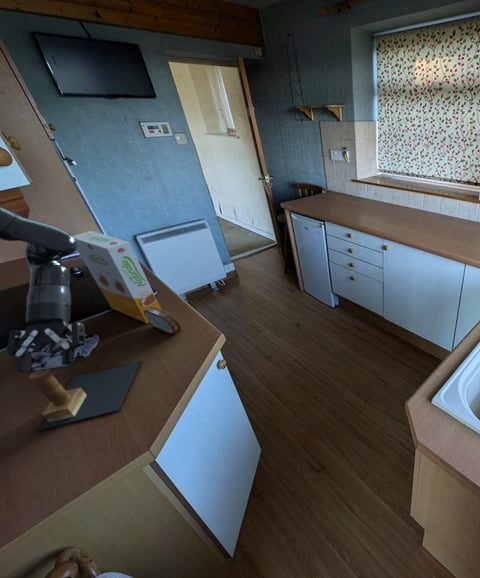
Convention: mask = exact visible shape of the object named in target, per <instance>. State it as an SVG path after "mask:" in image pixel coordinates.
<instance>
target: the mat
mask: <svg viewBox="0 0 480 578" xmlns="http://www.w3.org/2000/svg"><path fill="white" fill-rule="evenodd" d="M139 365H140V362H135V363H134V362H133V363H130V364H129V363H128V364H125V365H121V366H116V367H111V368H106V369H102V370H96V371H92V372H86V373H82V374H78V375H74V376H73V377H72V379H71V380H70V382H69V383H68V385H67V386H66V387H65V388H64V389H65V390H66V391H67V390H72V389H76V388H81V389H82V390H83V391H84V392H85V393H86V395H87V396H86V397H85V399H84V401H83V403H82V404H81V406H80V408H79V410H78V411H77V413H76V415H75V416H74V417H70V418H66V419H62V420H58V421H54V422H49V421H48V420H47V419H46V418H45V419H44V420H43V422H42V424H41V425H40V426H39V428H38V431H39V432H40V431H44V430H49V429H52V428H55V427H60V426H63V425H68V424H72V423H75V422H80V421H84V420H88V419H91V418H96V417H100V416H104V415H107V414H111V413H115V412H118V411H119V410H120V408H121V405H122V403H123V401H124V399H125V397H126V394H127V391H128V389H129V387H130V385H131V383H132V380H133V378H134V377H135V374H136V372H137V370H138V367H139Z"/></svg>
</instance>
